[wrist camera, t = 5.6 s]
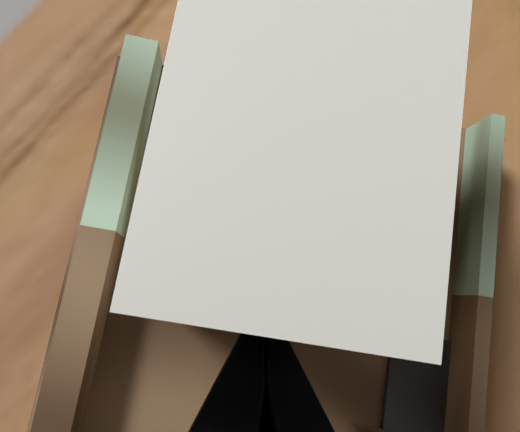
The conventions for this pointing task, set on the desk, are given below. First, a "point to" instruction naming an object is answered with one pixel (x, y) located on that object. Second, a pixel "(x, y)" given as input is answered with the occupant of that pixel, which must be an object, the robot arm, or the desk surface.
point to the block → (303, 173)
